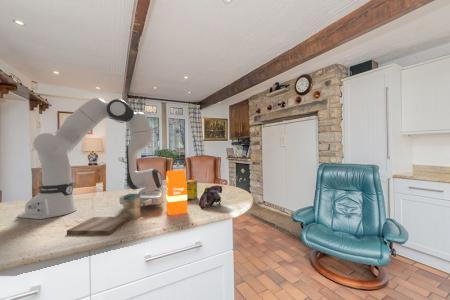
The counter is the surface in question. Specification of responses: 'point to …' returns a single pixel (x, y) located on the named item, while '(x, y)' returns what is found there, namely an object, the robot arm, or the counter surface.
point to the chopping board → (98, 226)
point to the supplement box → (191, 189)
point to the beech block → (132, 206)
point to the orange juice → (176, 192)
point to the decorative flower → (210, 196)
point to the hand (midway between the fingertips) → (134, 203)
